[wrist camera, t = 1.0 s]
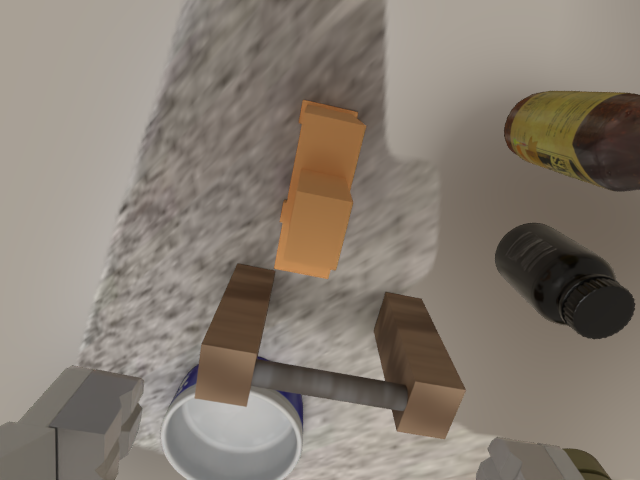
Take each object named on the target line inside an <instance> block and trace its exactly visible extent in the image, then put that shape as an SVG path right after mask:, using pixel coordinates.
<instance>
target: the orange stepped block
mask: <svg viewBox="0 0 640 480" xmlns="http://www.w3.org/2000/svg"><path fill="white" fill-rule="evenodd" d="M357 116H358V112H355V111H351V110H347V109H342V108H338V107H334V106H329V105H325V104H320V103H316V102H312V101H307V100H303V102H302V107H301V112H300V118H299V123H300V124H302V126H301V131H300V136H299V142H298V147H297V152H296V157H295V162H294V167H293V173H292V178H291V183H290V188H289V193H288V198H287V200H284V202H283V207H282V212H281V217H280V222H282V223H283V224H282V229H281V234H280V240H279V245H278V250H277V255H276V260H275V265H274V269H278V270H284V271H289V272H294V273H299V274H304V275H310V276H315V277H320V278H325V279H328V278H329V274H330V270H336V268H337V264H338V260H339V256H340V253H341V249H342V245H343V241H344V237H345V233H346V229H347V225H348V221H349V217H350V213H351V209H352V205H353V200H352V197H351V194H350V189H351V185H352V181H353V177H354V173H355V169H356V165H357V161H358V157H359V153H360V149H361V145H362V141H363V137H364V133H365V129H366V125H364V124H363V123H362V122H361V121H360V120H358V119H357Z"/></svg>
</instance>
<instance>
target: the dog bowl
mask: <svg viewBox="0 0 640 480" xmlns="http://www.w3.org/2000/svg"><path fill="white" fill-rule="evenodd" d="M257 359H260V360H265V361H269V360H266V359H264V358H261V357H257ZM198 367H199V364H198V365H197V366H196V367H194V368H193V369H192V370H191V371H190V372H189V373H188V374H187V376H186V377H185V378H184V380H183V382H182V383H181V385H180V387H179V389H178V391H177V393H176V395H175V397H174V399H173V400H172V402H171V405H170V407H169V409H168V410H167V413H166V415H165V417H164V419H163V422H162V425H161V430H160V439H161V445H162V449H163V452H164V454H165V456H166V458H167V459H168V461H169V463H170V464H171V465H172V467H173V468H174V469H175V470H176V471H177V472H178V473H179V474H181V475H182V476H183V477H185V478H186V479H187V480H283V479H284V478H285V477H287V476H288V475H289V474H290V473H291V472H292V470H293V469H294V468H295V466H296V465H297V463H298V461H299V459H300V456H301V452H302V446H303V403H302V397H301V394H296V393H290V392H284V391H278V390H272V389H266V388H260V387H254V386H251V389H250V394H249V398H248V403H247V407H244V406H238V405H232V404H226V403H219V402H213V401H207V400H201V399H195V390H196V383H197V375H198Z"/></svg>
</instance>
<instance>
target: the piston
mask: <svg viewBox="0 0 640 480" xmlns="http://www.w3.org/2000/svg"><path fill="white" fill-rule="evenodd" d="M563 450H564V451H565V452H566V453H567V455H568V456H569V458H570V459H571V461H572V462H573V463H574V465H575V466H576V468H577V469H578V471H579V472H580V474H581V475H582V477H583V478H584V479H585V480H611V478H610V477H609V476H608V474H607V473H606V472H605V470H604V469H603V468H602V466H601V465H600V464H599V462H598V461H597V460H596V459H595V458H594V457H593V456H592V455H590V454H589V453H587V452H585V451H582V450H578V449H563Z"/></svg>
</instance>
